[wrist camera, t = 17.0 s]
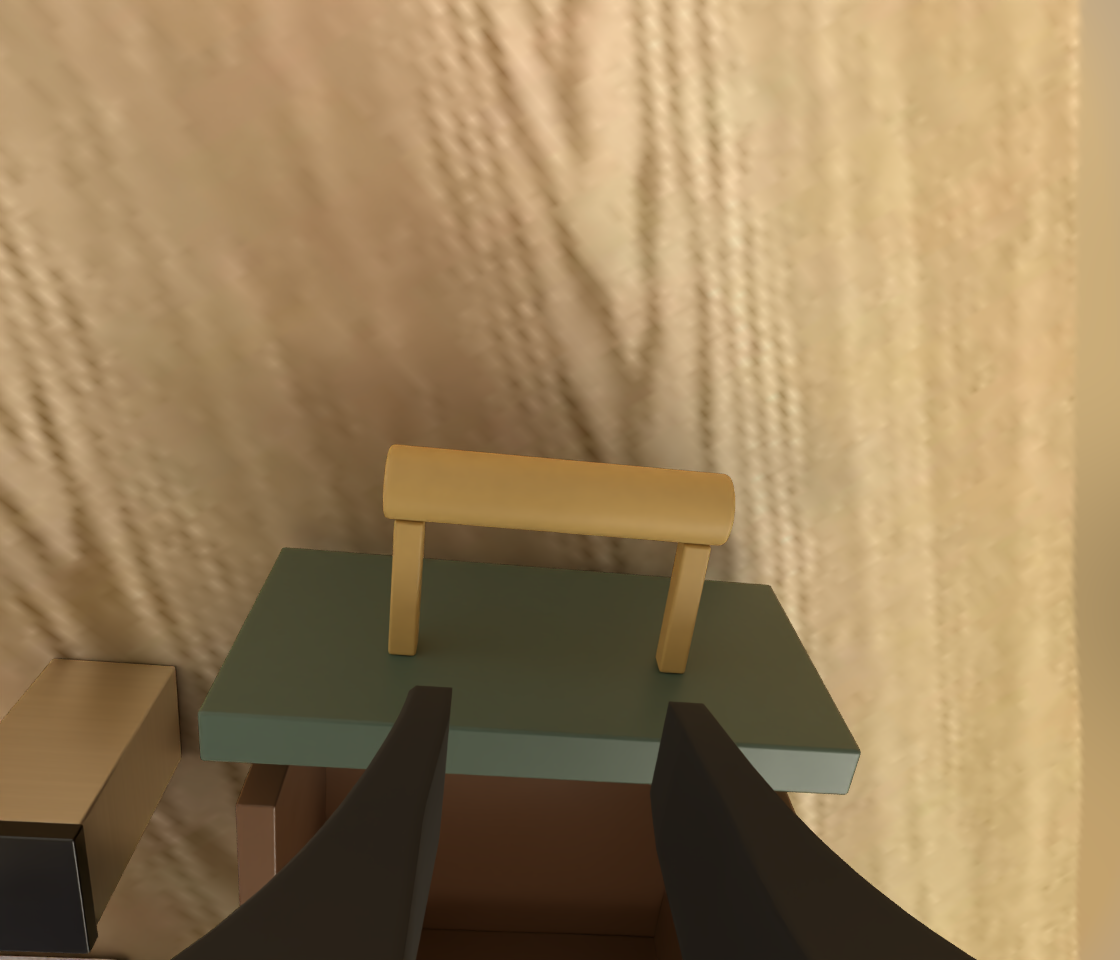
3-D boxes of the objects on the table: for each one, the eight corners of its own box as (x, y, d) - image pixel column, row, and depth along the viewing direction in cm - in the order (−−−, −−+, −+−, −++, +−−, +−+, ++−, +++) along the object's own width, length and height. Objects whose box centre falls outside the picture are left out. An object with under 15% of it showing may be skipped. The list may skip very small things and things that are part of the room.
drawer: (280, 370, 20) (182, 484, 14) (811, 422, 22) (930, 546, 16) (286, 911, 27) (222, 1142, 21) (685, 926, 29) (732, 1147, 23)
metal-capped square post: (62, 753, 26) (-74, 949, 20) (48, 653, 24) (-103, 832, 18) (186, 760, 26) (90, 954, 20) (179, 662, 24) (73, 840, 19)
